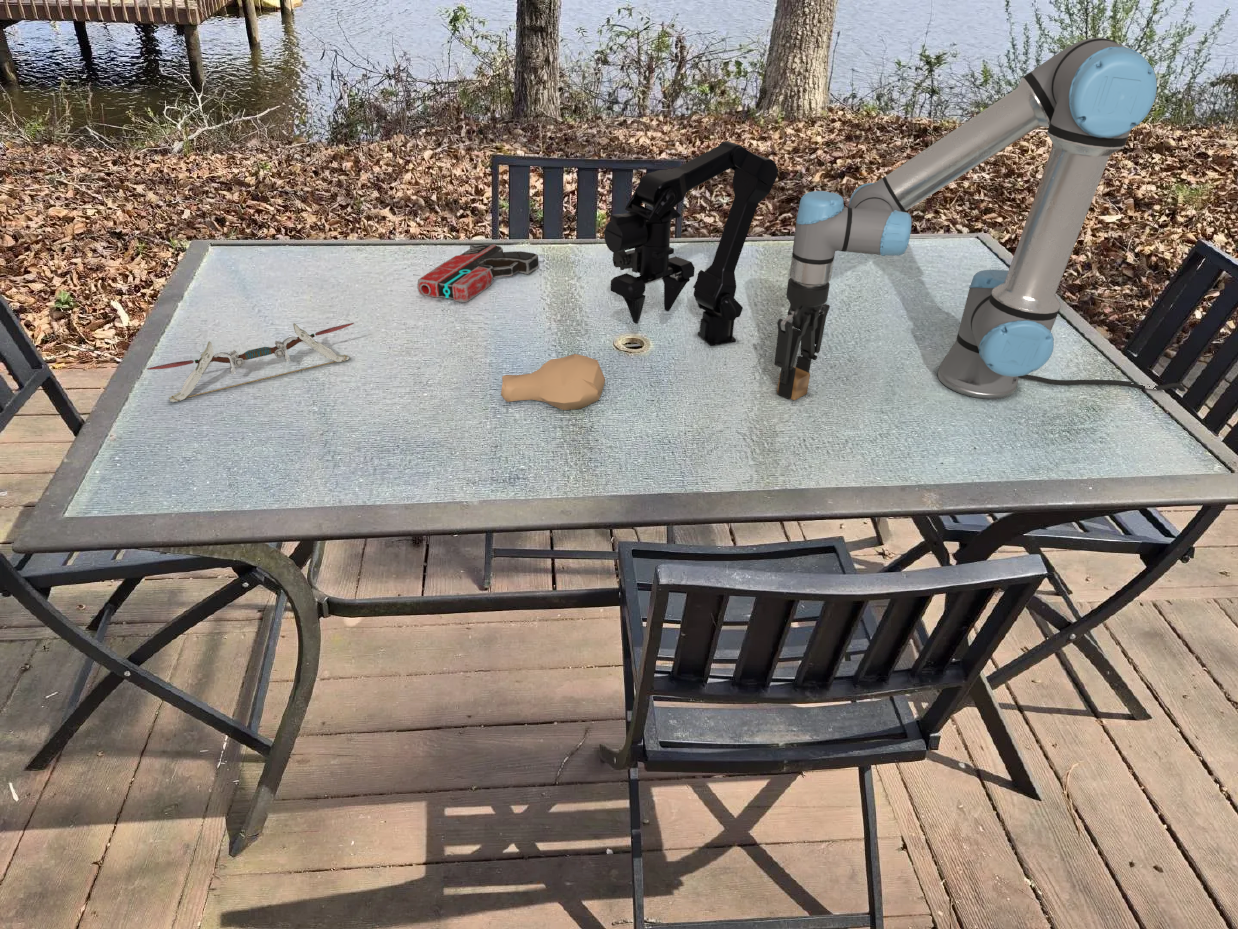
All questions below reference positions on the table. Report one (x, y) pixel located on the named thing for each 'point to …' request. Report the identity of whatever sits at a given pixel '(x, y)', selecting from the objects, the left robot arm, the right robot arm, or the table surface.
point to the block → (799, 383)
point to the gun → (474, 272)
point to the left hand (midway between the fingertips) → (651, 316)
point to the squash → (558, 383)
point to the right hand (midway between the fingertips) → (792, 391)
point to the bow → (250, 354)
